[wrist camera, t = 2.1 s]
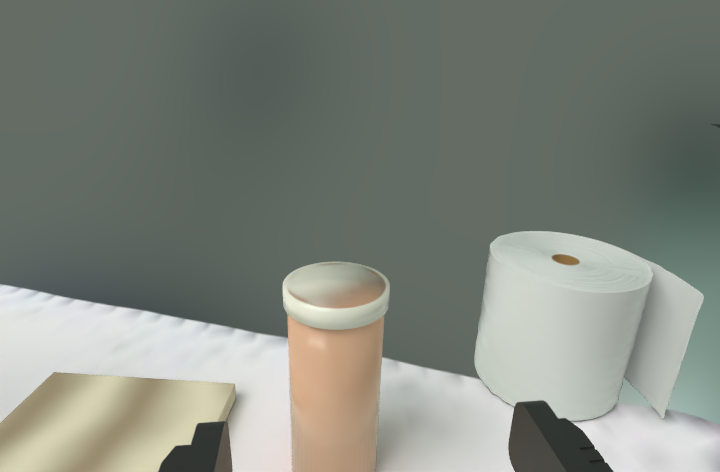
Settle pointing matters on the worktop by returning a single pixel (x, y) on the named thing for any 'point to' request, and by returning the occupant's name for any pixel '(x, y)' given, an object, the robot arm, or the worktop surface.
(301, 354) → the terracotta jar
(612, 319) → the toilet tissue
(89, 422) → the birch board
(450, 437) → the worktop surface
